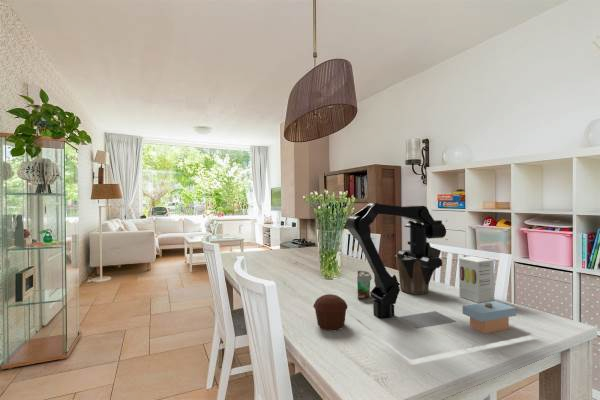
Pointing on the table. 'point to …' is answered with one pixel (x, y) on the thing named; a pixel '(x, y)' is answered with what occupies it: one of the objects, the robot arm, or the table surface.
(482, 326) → the orange open box
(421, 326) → the mat
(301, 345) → the table surface
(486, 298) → the supplement box
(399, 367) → the table surface
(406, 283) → the plant pot
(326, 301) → the muffin
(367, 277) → the food container
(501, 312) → the lid
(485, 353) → the table surface
